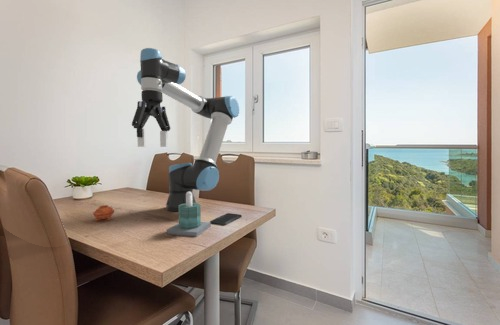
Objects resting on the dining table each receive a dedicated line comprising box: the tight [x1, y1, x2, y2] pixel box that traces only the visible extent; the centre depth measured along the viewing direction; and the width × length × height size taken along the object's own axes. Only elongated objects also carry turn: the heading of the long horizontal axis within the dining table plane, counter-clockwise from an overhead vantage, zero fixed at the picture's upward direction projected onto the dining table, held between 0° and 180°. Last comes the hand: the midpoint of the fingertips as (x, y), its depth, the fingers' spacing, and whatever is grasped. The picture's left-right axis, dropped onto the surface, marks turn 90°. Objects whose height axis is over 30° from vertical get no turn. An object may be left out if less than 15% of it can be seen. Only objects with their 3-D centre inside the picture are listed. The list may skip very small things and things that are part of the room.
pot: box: [93, 205, 115, 222], centre depth 108 cm, size 8×8×7 cm
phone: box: [209, 212, 243, 226], centre depth 108 cm, size 8×1×15 cm
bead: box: [178, 202, 202, 229], centre depth 94 cm, size 8×8×8 cm
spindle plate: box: [166, 192, 211, 237], centre depth 94 cm, size 12×12×15 cm
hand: (153, 146), depth 96 cm, fingers open, 13 cm apart
